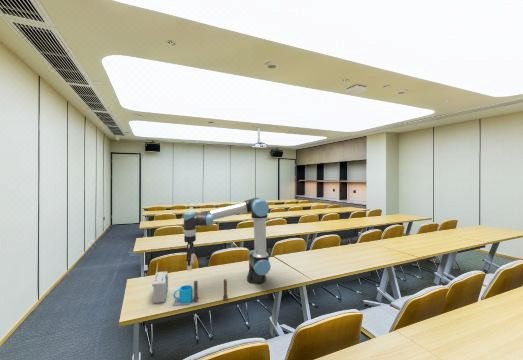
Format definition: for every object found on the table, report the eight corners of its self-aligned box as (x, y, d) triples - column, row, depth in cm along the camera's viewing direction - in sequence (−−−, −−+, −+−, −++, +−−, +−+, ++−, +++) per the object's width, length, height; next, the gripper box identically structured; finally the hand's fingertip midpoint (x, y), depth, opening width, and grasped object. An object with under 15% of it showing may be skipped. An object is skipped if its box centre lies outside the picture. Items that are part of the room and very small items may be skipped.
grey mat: (191, 297, 166) (191, 296, 166) (189, 304, 156) (189, 304, 156) (176, 298, 165) (176, 297, 165) (172, 305, 155) (172, 305, 155)
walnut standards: (227, 297, 166) (227, 278, 166) (227, 300, 162) (227, 280, 162) (194, 299, 164) (193, 280, 163) (193, 302, 160) (193, 282, 159)
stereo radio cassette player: (165, 303, 159) (165, 272, 158) (151, 304, 156) (151, 273, 156) (168, 288, 179) (168, 261, 178) (156, 290, 176) (155, 262, 176)
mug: (193, 296, 166) (193, 284, 166) (191, 302, 158) (191, 290, 158) (174, 298, 164) (174, 286, 164) (172, 304, 156) (172, 291, 156)
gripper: (187, 231, 179) (187, 260, 180) (181, 240, 155) (182, 274, 155) (197, 230, 180) (198, 259, 181) (193, 239, 156) (194, 273, 156)
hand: (190, 266), depth 168 cm, fingers open, 13 cm apart
